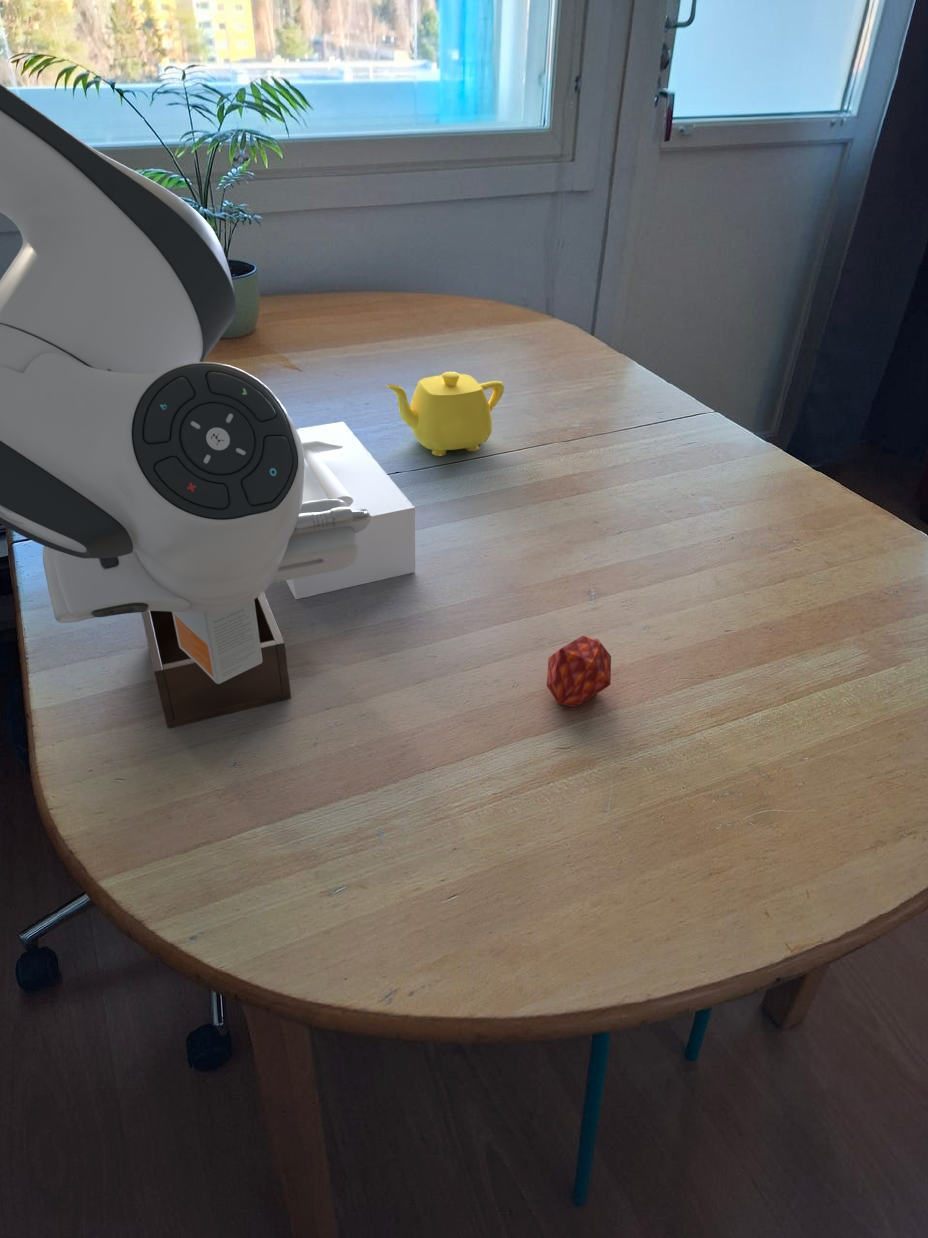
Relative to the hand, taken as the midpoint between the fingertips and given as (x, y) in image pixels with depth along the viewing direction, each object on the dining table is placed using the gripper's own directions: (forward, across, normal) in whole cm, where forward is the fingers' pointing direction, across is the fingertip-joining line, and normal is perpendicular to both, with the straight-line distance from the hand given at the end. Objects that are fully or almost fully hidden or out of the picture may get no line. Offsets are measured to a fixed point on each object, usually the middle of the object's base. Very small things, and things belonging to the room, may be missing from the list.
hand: (207, 585), depth 65 cm
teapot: (+53, -42, -25) cm, 72 cm away
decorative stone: (+12, -33, +15) cm, 38 cm away
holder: (+24, -1, +4) cm, 24 cm away
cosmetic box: (+4, 0, +5) cm, 7 cm away
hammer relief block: (+39, -18, -12) cm, 44 cm away
